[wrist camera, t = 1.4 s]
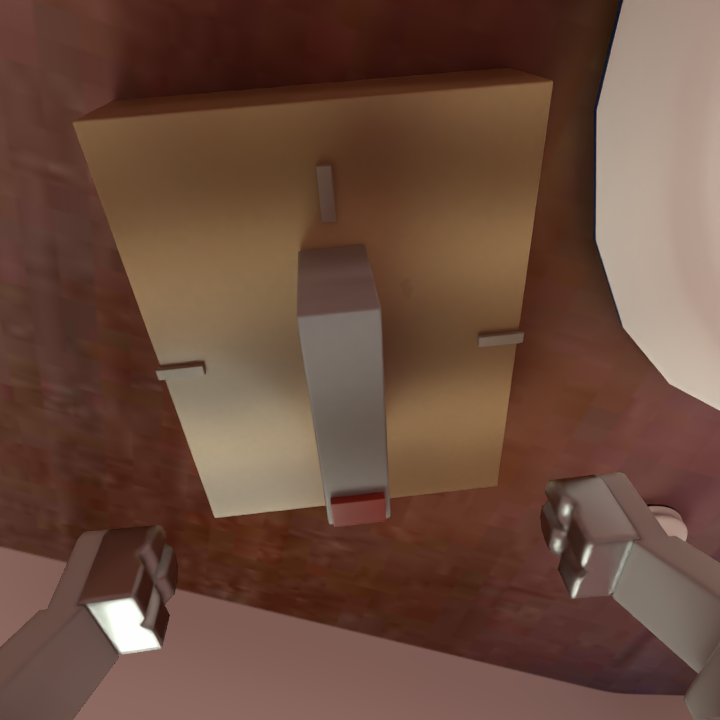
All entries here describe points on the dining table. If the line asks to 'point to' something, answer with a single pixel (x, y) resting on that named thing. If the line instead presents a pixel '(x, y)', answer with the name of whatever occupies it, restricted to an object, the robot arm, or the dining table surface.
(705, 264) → the plate
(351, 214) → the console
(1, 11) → the dining table surface
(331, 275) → the red-tipped grey block
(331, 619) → the dining table surface
